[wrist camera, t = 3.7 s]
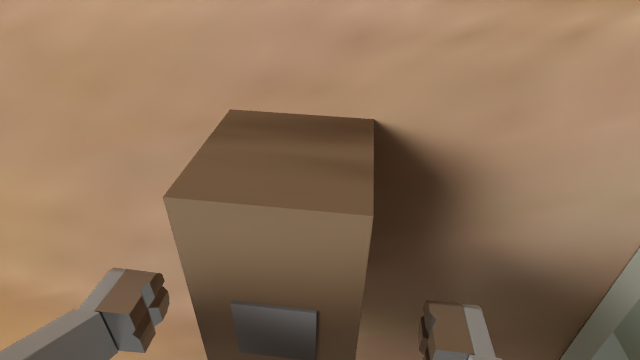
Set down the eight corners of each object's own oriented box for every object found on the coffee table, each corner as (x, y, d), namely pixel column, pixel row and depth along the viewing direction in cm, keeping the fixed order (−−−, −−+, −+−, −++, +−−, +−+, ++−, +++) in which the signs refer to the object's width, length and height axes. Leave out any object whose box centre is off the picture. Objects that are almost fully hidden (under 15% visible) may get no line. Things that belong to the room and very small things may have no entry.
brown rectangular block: (230, 108, 13) (160, 199, 9) (374, 118, 12) (373, 219, 8) (249, 255, 17) (207, 366, 13) (357, 266, 16) (352, 385, 12)
